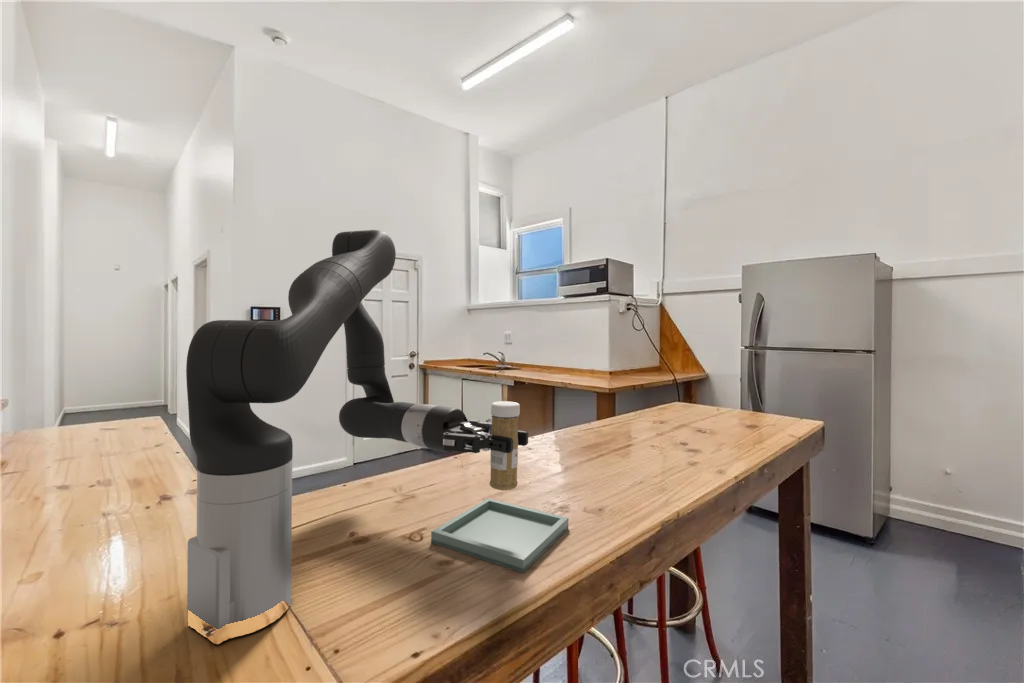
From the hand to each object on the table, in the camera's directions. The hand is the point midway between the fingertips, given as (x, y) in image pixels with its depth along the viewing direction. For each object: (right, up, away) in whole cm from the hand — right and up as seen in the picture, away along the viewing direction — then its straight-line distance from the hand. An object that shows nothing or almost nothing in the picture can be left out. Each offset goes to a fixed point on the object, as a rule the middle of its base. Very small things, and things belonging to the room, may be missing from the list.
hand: (519, 442), depth 69 cm
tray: (-3, -15, +2) cm, 16 cm away
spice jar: (-3, -8, +2) cm, 8 cm away
